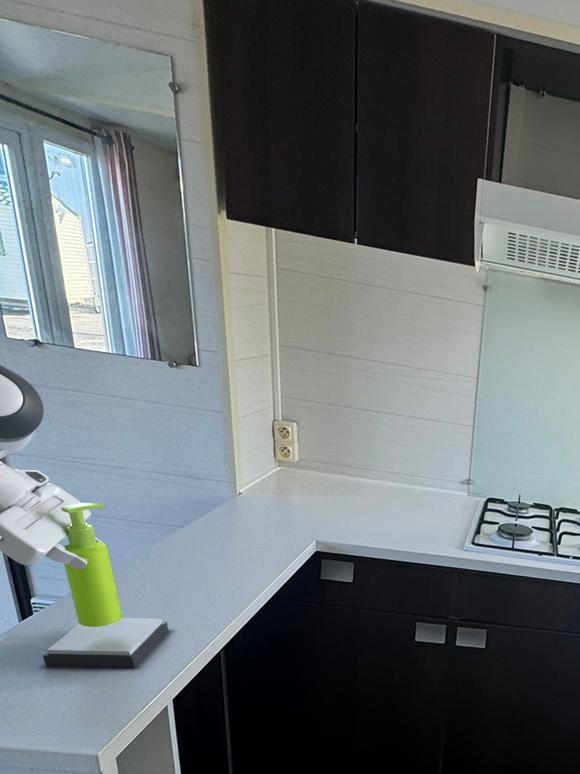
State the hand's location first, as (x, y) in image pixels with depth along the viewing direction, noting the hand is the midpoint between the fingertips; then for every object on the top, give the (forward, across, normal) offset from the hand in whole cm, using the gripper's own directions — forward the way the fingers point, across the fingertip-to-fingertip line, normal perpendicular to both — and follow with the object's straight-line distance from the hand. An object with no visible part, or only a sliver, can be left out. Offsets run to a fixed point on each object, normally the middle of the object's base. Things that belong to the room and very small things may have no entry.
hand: (93, 557), depth 103 cm
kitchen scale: (+12, 0, +13) cm, 17 cm away
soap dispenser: (+8, 0, +8) cm, 11 cm away
